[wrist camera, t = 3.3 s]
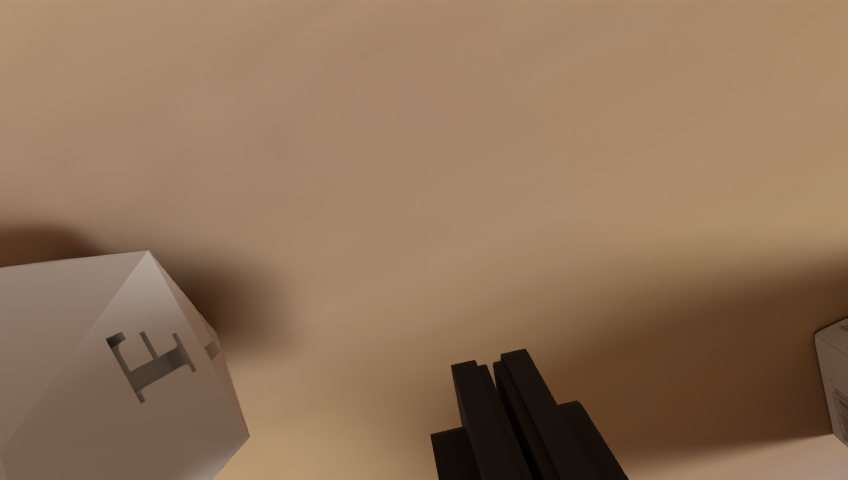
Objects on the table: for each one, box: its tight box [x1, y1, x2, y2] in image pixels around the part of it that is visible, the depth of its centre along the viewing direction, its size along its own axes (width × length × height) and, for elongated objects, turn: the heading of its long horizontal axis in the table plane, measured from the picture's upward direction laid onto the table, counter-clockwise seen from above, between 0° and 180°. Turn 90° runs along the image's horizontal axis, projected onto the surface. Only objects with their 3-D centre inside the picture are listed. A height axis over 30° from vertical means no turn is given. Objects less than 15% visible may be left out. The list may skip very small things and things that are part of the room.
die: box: [0, 250, 250, 480], centre depth 13 cm, size 8×9×10 cm
